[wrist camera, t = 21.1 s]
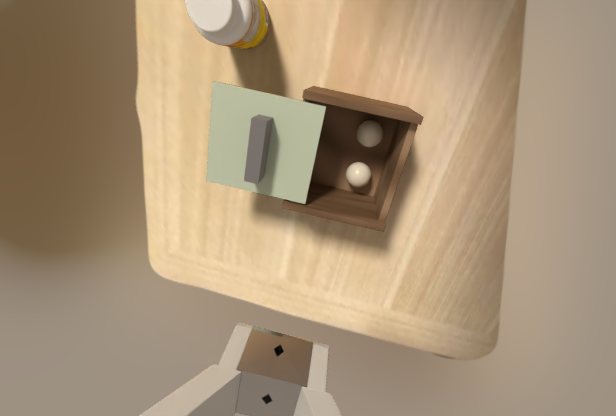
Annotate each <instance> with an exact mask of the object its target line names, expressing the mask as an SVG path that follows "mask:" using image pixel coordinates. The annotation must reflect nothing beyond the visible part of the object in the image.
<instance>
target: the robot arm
mask: <svg viewBox="0 0 616 416" xmlns="http://www.w3.org/2000/svg"><path fill="white" fill-rule="evenodd" d="M328 356H329V346H328V344H324V343H319V342H315V341H312V340H307V339H303V338H298V337H295V336H290V335H286V334H281V333H277V332H273V331H270V330H266V329H262V328H259V327H255V326H250V325H247V324H243V323H240V322H238V324H237V325H236V327H235V329H234V331H233V333H232V336H231V338H230V340H229V342H228V345H227V347H226V349H225V351H224V353H223V356H222V358H221V360H220V362H219V364H218V365H215V364H214V365H212V366H210V367H209V368H207V369H206V370H204V371H203V372H201V373H200V374H199V375H197V376H196V377H194V378H193V379H191V380H190V381H188V382H187V383H186V384H184V385H183V386H181V387H180V388H179V389H177V390H176V391H174V392H173V393H171V394H170V395H168V396H167V397H166V398H164V399H163V400H161V401H160V402H158V403H157V404H155V405H154V406H152V407H151V408H150V409H148V410H147V411H145V412H144V413H143V414H141V415H139V416H233V415H234V414H235V413H240V414H245V415H249V416H342V415H341V413H340V411H339V409H338V407H337V405H336V403H335V401H334V399H333V397H332V395H331V394H330V393H326V383H327V368H328Z"/></svg>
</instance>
